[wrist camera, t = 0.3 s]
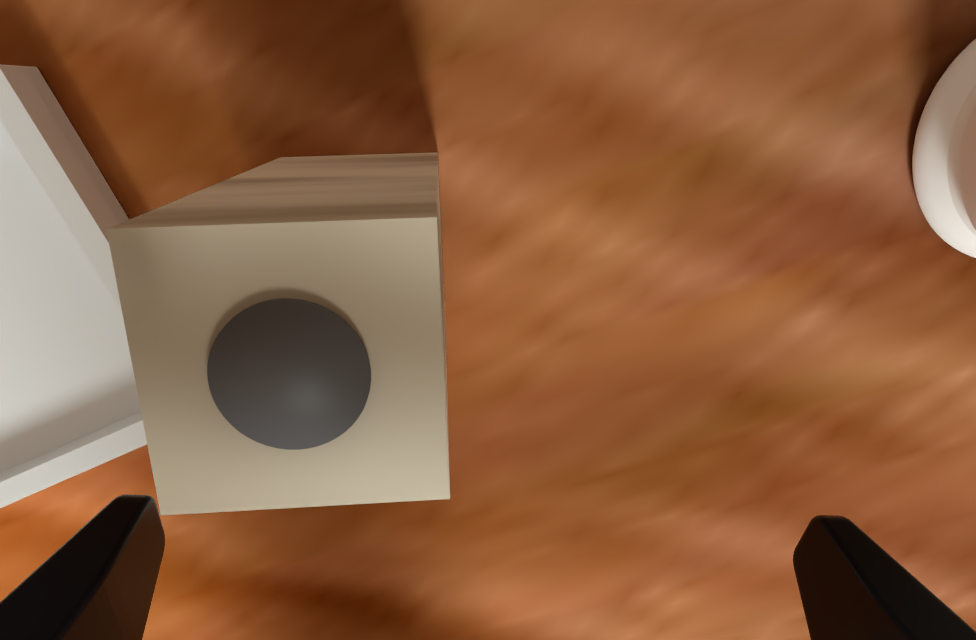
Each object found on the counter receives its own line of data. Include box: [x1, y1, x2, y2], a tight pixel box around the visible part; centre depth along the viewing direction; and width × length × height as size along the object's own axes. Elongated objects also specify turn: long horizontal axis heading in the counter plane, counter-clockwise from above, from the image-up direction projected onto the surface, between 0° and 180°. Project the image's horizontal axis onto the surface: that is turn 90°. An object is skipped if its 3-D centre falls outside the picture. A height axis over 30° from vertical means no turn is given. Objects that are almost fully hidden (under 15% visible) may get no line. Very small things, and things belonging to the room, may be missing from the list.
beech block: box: [106, 152, 450, 515], centre depth 18 cm, size 5×5×13 cm
